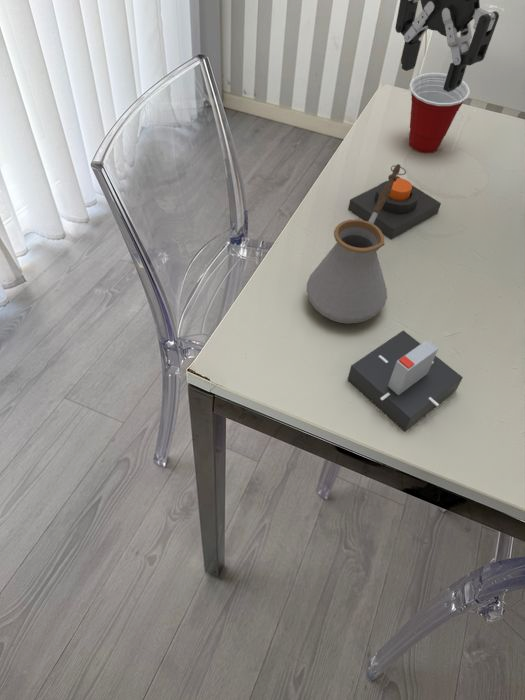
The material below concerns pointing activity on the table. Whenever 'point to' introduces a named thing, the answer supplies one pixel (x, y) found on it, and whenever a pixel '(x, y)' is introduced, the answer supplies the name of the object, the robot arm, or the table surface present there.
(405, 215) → the block
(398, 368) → the timer knob
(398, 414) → the timer panel
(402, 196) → the power button
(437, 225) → the table surface
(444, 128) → the plastic cup
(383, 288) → the coffee pot
